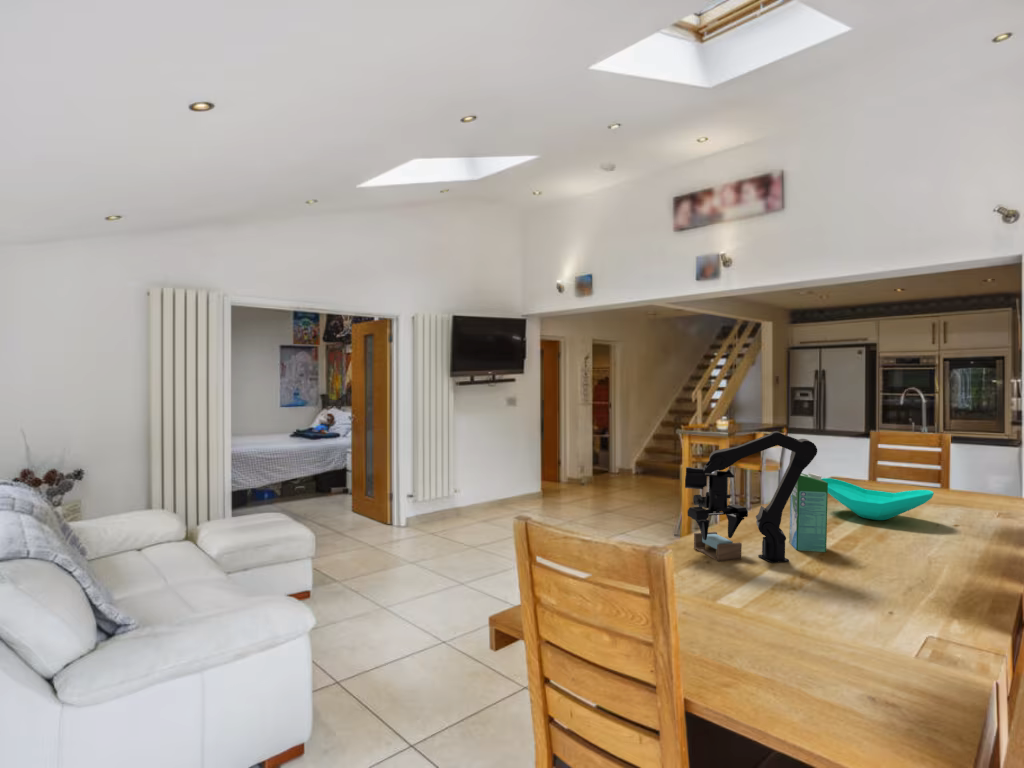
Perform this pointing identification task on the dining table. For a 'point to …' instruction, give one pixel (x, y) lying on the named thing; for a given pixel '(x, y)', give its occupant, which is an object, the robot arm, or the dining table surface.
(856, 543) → the dining table surface
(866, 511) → the table top decor
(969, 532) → the dining table surface
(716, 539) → the block
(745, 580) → the dining table surface
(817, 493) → the milk carton
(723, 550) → the cradle
